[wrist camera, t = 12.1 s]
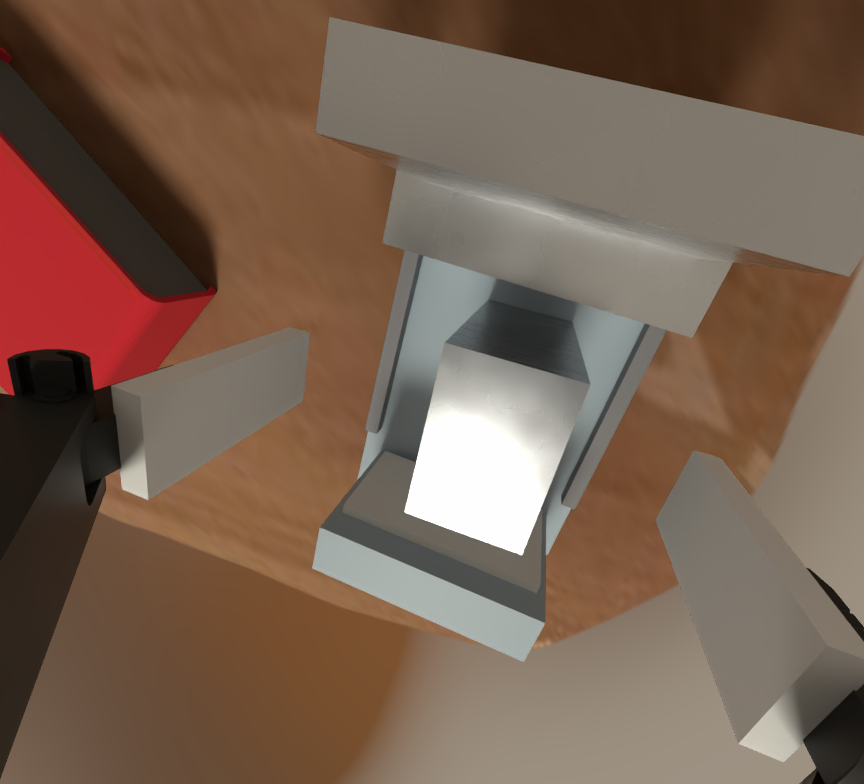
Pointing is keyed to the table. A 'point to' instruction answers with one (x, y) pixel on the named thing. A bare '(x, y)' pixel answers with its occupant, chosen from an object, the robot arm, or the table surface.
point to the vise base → (400, 442)
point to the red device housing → (79, 253)
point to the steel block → (498, 423)
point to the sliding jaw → (587, 176)
